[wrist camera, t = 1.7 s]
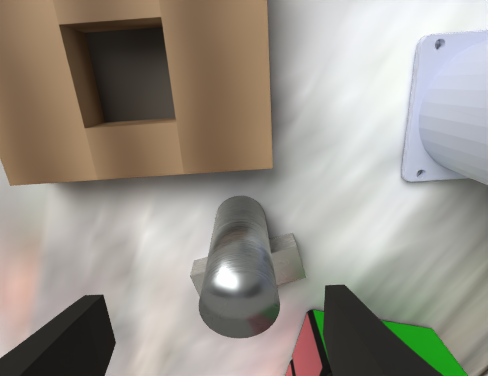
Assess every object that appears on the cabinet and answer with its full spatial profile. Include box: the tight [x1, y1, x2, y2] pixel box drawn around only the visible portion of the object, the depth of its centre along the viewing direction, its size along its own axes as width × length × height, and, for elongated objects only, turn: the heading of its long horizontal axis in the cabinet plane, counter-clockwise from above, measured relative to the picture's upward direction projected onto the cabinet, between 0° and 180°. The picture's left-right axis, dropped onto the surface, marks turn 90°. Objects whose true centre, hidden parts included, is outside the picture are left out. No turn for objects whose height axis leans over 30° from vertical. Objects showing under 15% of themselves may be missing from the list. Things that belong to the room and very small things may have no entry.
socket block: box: [0, 0, 273, 186], centre depth 15 cm, size 14×10×2 cm
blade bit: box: [190, 233, 306, 296], centre depth 20 cm, size 7×2×2 cm, turn 108°
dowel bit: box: [199, 196, 280, 338], centre depth 15 cm, size 3×3×8 cm
